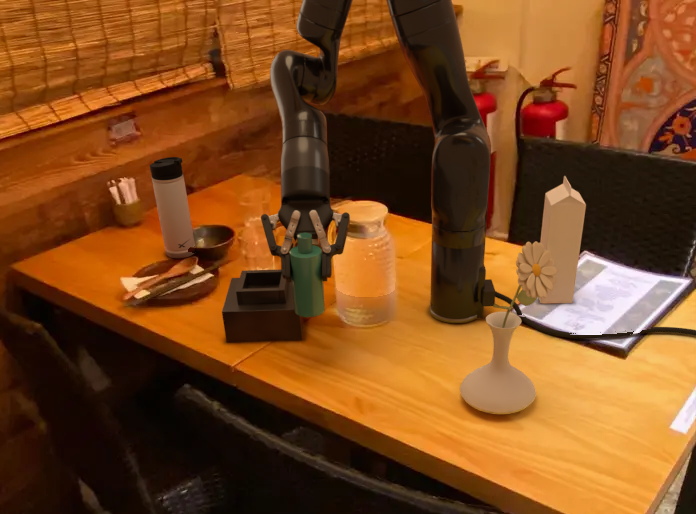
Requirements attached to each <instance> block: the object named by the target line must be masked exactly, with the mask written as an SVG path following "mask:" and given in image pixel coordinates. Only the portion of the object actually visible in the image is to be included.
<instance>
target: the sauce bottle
mask: <svg viewBox="0 0 696 514" xmlns="http://www.w3.org/2000/svg"><path fill="white" fill-rule="evenodd" d="M296 243H297V245H295V246H294V247H293V248H292V249H291V250H290V264H291V275H292V287H293V299H294V311H295V313H296V314H297V315H299V316H302V317H304V318H315V317H318V316H321V315H322V314H323V313H325V311H326V305H325V303H326V302H325V289H324V287H325V285H324V282H323V280H322V254H323V252H322V250H321V247H320V246H318V245H315V244H313V239H312V235H311V234H310V233H300V234H298V235H297V241H296Z"/></svg>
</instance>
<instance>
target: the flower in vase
mask: <svg viewBox="0 0 696 514" xmlns="http://www.w3.org/2000/svg"><path fill="white" fill-rule="evenodd" d="M515 266H516V267H517V268H516V269H515V271H516V272H515V273H516V275H517V284H518V286H517V289H516V292H515V294H514V296H513V299H512V302H511V305H510V304H509V306H506V305H499V304H498V303H496V302H495V303H494V306H492V307H493V308H495V309H503V310H507V311H495V312H492V313H490V314H488V315H487V316H486V317H485V322H486V324H487V325H488V326H489V328H490V330H491V333H492V340H493V341H492V342H493V349H492V357H491V360H490V362H488V363H487V364H484V365H482V366H479V367H477V368H475V369H473V370H472V371H471V372H469V373H468V374H466V375H465V376H464V378H463V379H462V382H461V384H460V386H459V393H460V395H461V397H462V399H463V400H464V401H465V402H466V404H468V405H469V406H470V407H471V408H473V409H475V410H477V411H480V412H482V413H486V414H493V415H509V414H516V413H518V412H521V411H523V410H525V409H526V408H528V407H529V406H530V405H532V404H533V402H534V401H535V399H536V396H537V391H536V388H535V385H534V382H533V381H532V379H531V378H530V377H529V376H528V375H526V374H525V373H524V372H523V371H522V370H520V369H518V368H517V367H515V366H513V365H511V363H510V359H509V353H510V345H511V340H512V338H513V334H514V332H515V331H516V329H517V328H518V327H519V326H520V325H521V324H522V320H521V318H520V317H519V316H518V315H517V314H515V313H513V312H511V310H512V309H513V307H512V306H513V304H514V302H516V299H517V301H518V302H519V303H520V304H521V305H522V306H524V307H528V306H531V305H533V304H534V303H536V301H537V300H538V299H539V298H542V297H544V298H546V297H547V293H548V291H547V289H549V290H553V284H554V283H555V278H554V276H553V275H555V274H556V273H557V270H556V268H554V267H553V266H554V261H553V260H552V258H551V253H550V252H549V251H546V250H544V246H543V245H542V243H540V242H538V241H534V242H533V243H532V242H530V241H527V242H526V243H525V244H524V245H523V246H522V248H521V252H518V253H517V258H516V261H515ZM538 297H539V298H538Z"/></svg>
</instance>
